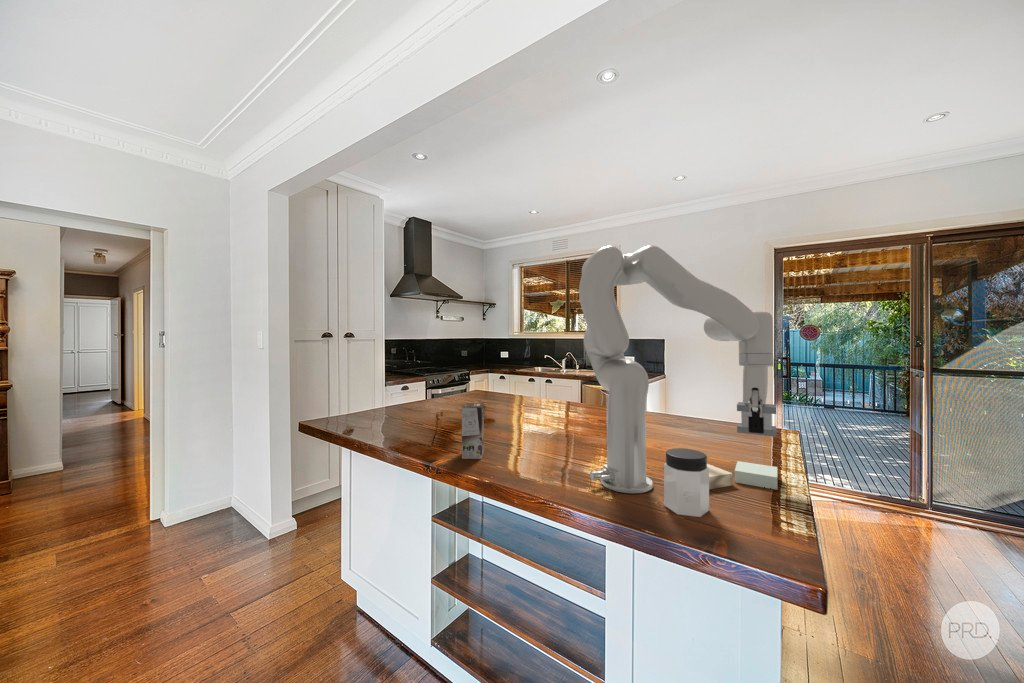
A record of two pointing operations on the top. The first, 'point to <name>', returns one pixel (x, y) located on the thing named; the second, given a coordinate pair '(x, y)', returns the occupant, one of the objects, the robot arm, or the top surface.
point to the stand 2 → (756, 475)
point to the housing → (766, 413)
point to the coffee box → (472, 430)
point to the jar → (686, 482)
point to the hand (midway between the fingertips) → (756, 429)
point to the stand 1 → (719, 477)
